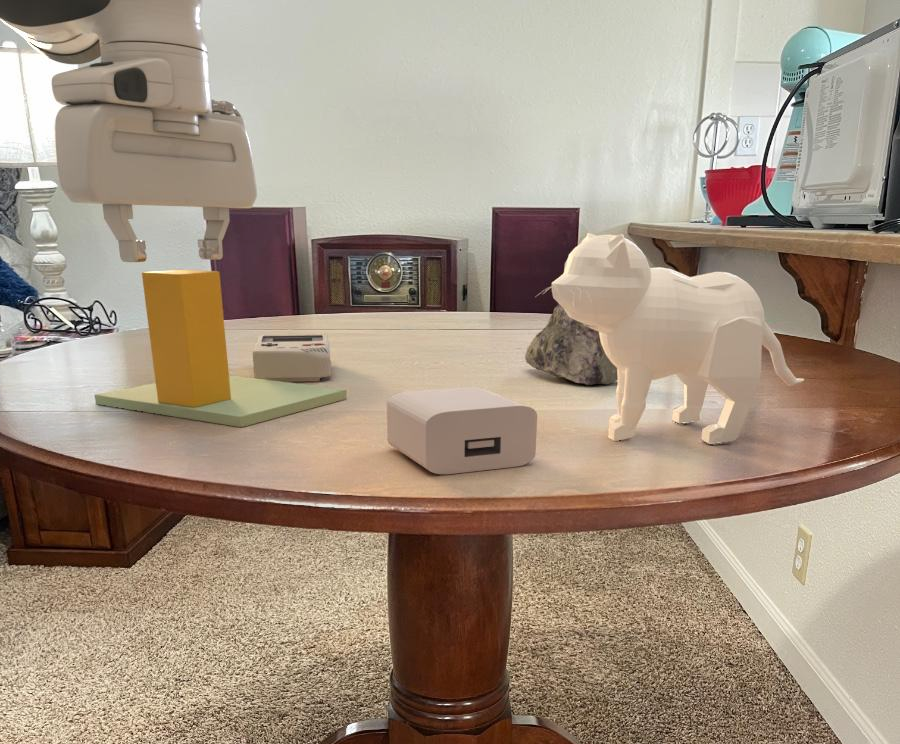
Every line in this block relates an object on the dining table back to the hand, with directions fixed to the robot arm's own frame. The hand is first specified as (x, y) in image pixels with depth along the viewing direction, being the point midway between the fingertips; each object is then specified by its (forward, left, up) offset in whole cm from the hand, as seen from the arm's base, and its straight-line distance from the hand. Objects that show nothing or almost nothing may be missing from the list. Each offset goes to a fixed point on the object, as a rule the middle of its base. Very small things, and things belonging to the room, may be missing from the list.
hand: (174, 260), depth 82 cm
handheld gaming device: (-6, +23, -14) cm, 28 cm away
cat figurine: (+44, +16, -14) cm, 48 cm away
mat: (-1, +5, -14) cm, 15 cm away
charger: (+29, 0, -14) cm, 33 cm away
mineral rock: (+24, +38, -14) cm, 47 cm away
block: (0, 0, -13) cm, 13 cm away
